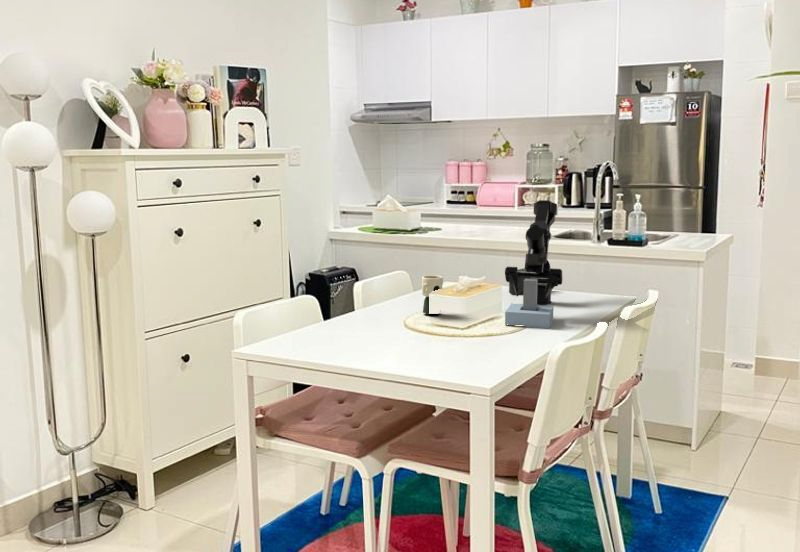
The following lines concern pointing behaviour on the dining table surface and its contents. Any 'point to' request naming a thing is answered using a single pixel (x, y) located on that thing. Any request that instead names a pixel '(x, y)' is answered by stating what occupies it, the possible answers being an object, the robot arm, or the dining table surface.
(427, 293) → the character mug
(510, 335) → the dining table surface
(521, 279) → the leaning round-cornered charcoal block
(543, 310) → the socket block
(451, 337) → the dining table surface
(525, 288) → the gray block
